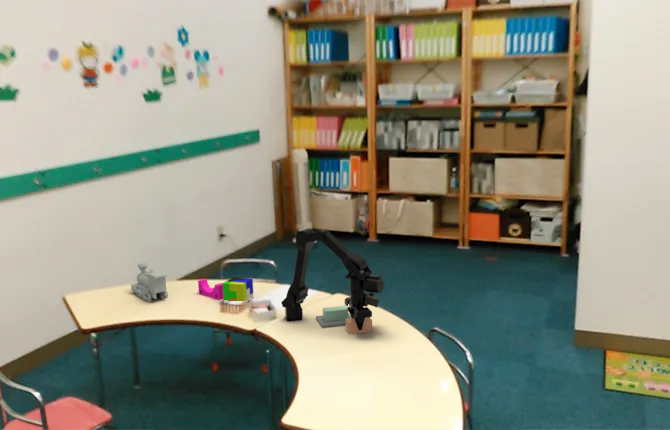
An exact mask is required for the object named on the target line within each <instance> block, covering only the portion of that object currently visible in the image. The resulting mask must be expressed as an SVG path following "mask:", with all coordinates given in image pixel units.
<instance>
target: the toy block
mask: <svg viewBox="0 0 670 430" xmlns="http://www.w3.org/2000/svg"><path fill="white" fill-rule="evenodd" d="M197 283H198V284H197V285H198V287H197V288H198V295H201V296H203V297H204V296H205V297H207V298H210V299H213V300H218V301H222V300H224V298H223V283H224V282H220V283H216V284H214V287H210V285H209V282H208V279H206V278H203V279H200V280H197Z"/></svg>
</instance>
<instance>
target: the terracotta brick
mask: <svg viewBox="0 0 670 430" xmlns="http://www.w3.org/2000/svg"><path fill="white" fill-rule="evenodd" d="M371 318H372V317H367V318H365V320H364V323H363V327H362V330H358V327H357V325H356V322H355V319H354V318H350V319H345V331H346V332H347V334H348V335H352V334H360V333H369V332H373V319H371Z"/></svg>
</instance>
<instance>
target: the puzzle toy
mask: <svg viewBox="0 0 670 430" xmlns="http://www.w3.org/2000/svg"><path fill="white" fill-rule="evenodd" d="M253 282H254V279H253V278H247V277H234V276H233V277H231V278H229V279H228V280H225V282H222V283H223V298H224V299H223V301H224V300H228V301H245V300H248V299H249V298H250V297H251V298H252V300H253V299H254V297H255V296H254V283H253Z"/></svg>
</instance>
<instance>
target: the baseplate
mask: <svg viewBox="0 0 670 430" xmlns="http://www.w3.org/2000/svg"><path fill="white" fill-rule="evenodd" d="M350 318H351V315H350V313H349V312H348V319H350ZM315 319H316V321H317V322H318V325H319V326H321V328H322V329H326V328H327V329H328V328H334V327H344V326H345V327H346V325H345V320H341V321H332V322H325V321H324V319H323V314H322V315H315Z"/></svg>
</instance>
